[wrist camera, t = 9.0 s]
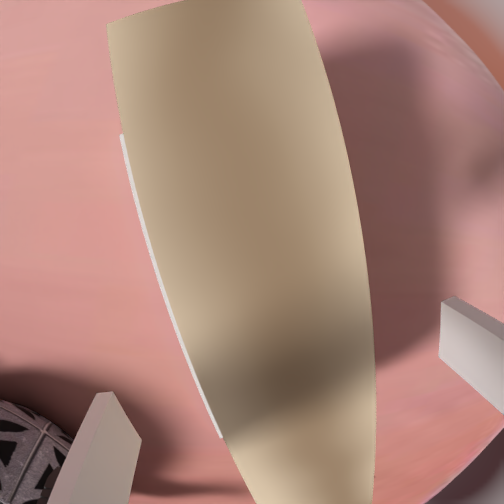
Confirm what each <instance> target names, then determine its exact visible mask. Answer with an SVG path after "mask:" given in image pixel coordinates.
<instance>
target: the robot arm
mask: <svg viewBox="0 0 504 504" xmlns="http://www.w3.org/2000/svg"><path fill="white" fill-rule="evenodd" d="M439 358H440V359H441V360H442V361H444V362H445V363H446V364H447V365H448V366H449V367H451V368H452V369H453V370H454V371H455V372H456V373H457V374H459V375H460V376H461V377H462V378H463V379H464V380H465V381H467V382H468V383H469V384H470V385H471V386H472V387H473V388H474V389H475V390H477V391H478V392H479V393H480V394H481V395H482V396H483V397H484V398H486V399H487V400H488V401H489V402H490V403H491V404H492V405H493V406H494V407H495V408H496V409H498V410H499V411H500V412H501V413H502V414H503V415H504V324H503V323H502V322H500V321H498V320H497V319H495V318H493V317H491V316H490V315H488V314H486V313H484V312H483V311H481V310H479V309H477V308H476V307H474V306H472V305H470V304H468V303H467V302H465V301H463V300H461V299H459V298H457V297H456V296H453V297H451V298H448V299H446V300H444V301H442V302H441V324H440V344H439ZM141 442H142V440H141V438H140V436H139V435H138V433H137V432H136V430H135V428H134V427H133V425H132V424H131V422H130V420H129V419H128V417H127V415H126V414H125V412H124V410H123V408H122V407H121V405H120V403H119V401H118V400H117V398H116V396H115V394H114V392H113V391H111V392H103V393H96V395H95V397H94V399H93V401H92V403H91V405H90V408H89V410H88V412H87V414H86V416H85V418H84V420H83V422H82V424H81V426H80V428H79V431H78V433H77V435H76V437H75V439H74V441H73V443H72V446H71V448H70V450H69V452H68V455H67V457H66V459H65V461H64V464H63V466H62V467H59V466H57V467H56V468H55V469H54V470H53V472H52V473H51V474H50V475H49V476H48V478H47V480H46V483H45V485H44V489H42V492H41V494H40V498H39V499H38V501H37V504H128V501H129V496H130V492H131V487H132V482H133V477H134V473H135V468H136V464H137V459H138V455H139V451H140V446H141Z"/></svg>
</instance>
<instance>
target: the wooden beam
mask: <svg viewBox="0 0 504 504" xmlns="http://www.w3.org/2000/svg"><path fill="white" fill-rule="evenodd" d="M106 28H107V37H108V45H109V53H110V60H111V67H112V74H113V80H114V86H115V92H116V98H117V104H118V109H119V115H120V120H121V125H122V130H123V135H124V140H125V144H126V149H127V154H128V158H129V162H130V167H131V171H132V175H133V179H134V183H135V187H136V191H137V195H138V199H139V203H140V207H141V211H142V214H143V218H144V222H145V225H146V229H147V232H148V236H149V239H150V243H151V246H152V250H153V253H154V256H155V260H156V263H157V266H158V269H159V272H160V276H161V279H162V282H163V285H164V288H165V291H166V294H167V297H168V300H169V303H170V306H171V309H172V312H173V315H174V317H175V320H176V323H177V326H178V329H179V331H180V334H181V337H182V340H183V342H184V345H185V348H186V350H187V353H188V355H189V358H190V361H191V363H192V366H193V368H194V371H195V373H196V376H197V378H198V381H199V383H200V386H201V388H202V390H203V393H204V395H205V398H206V400H207V402H208V405H209V407H210V409H211V412H212V414H213V416H214V418H215V421H216V423H217V425H218V427H219V430H220V432H221V434H222V436H223V438H224V440H225V443H226V445H227V447H228V449H229V451H230V453H231V455H232V457H233V459H234V461H235V463H236V465H237V467H238V469H239V471H240V473H241V475H242V477H243V479H244V481H245V483H246V485H247V487H248V489H249V491H250V493H251V495H252V497H253V498H254V500H255V502H256V504H372V496H373V484H374V469H375V448H376V374H375V352H374V335H373V322H372V310H371V300H370V290H369V281H368V272H367V264H366V257H365V249H364V242H363V236H362V229H361V223H360V217H359V211H358V205H357V200H356V194H355V189H354V184H353V179H352V174H351V169H350V164H349V160H348V155H347V151H346V146H345V142H344V138H343V134H342V129H341V125H340V121H339V117H338V114H337V110H336V106H335V102H334V99H333V95H332V91H331V88H330V84H329V81H328V78H327V74H326V71H325V68H324V64H323V61H322V58H321V55H320V52H319V49H318V46H317V43H316V40H315V37H314V34H313V31H312V28H311V25H310V23H309V20H308V17H307V14H306V12H305V9H304V6H303V4H302V1H301V0H184V1H180V2H175V3H172V4H168V5H164V6H160V7H157V8H153V9H150V10H146V11H143V12H140V13H137V14H134V15H131V16H128V17H125V18H122V19H119V20H116V21H114V22H111V23H108V24H106Z"/></svg>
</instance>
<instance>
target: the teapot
mask: <svg viewBox="0 0 504 504" xmlns="http://www.w3.org/2000/svg"><path fill="white" fill-rule="evenodd" d="M73 441H74V440H73V439H72V438H71V437H70V436H69V435H68V434H66V433H65V432H64V431H63V430H61V429H60V428H59V427H57V426H56V425H55V424H53V423H52V422H51V421H49V420H48V419H46V418H44V417H43V416H41V415H39V414H38V413H36V412H34V411H32V410H30V409H28V408H26V407H23V406H21V405H18V404H14V403H10V402H7V401H4V400H0V504H37V501H38V499H39V498H40V494H41V492H42V489H44V485H45V483H46V480H47V478H48V476H49V475H50V474H51V473H52V472H53V470H54V469H55V468H56V467H57V466H59V467H62V466H63V464H64V461H65V459H66V457H67V455H68V452H69V450H70V448H71V446H72V443H73Z"/></svg>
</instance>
